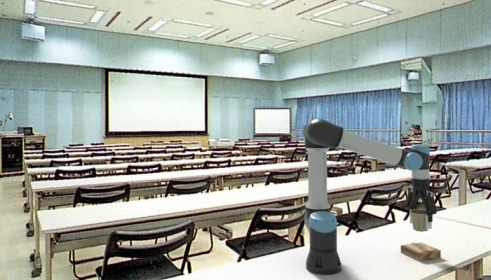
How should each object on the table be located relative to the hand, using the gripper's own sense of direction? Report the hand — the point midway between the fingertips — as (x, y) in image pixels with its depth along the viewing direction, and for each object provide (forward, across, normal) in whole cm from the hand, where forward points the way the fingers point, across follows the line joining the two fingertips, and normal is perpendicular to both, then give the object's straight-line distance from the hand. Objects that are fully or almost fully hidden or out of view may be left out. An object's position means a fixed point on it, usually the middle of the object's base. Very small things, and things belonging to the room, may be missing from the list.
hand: (420, 225), depth 176 cm
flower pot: (+2, 0, 0) cm, 2 cm away
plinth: (+14, 0, 0) cm, 14 cm away
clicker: (+14, +10, -5) cm, 18 cm away
